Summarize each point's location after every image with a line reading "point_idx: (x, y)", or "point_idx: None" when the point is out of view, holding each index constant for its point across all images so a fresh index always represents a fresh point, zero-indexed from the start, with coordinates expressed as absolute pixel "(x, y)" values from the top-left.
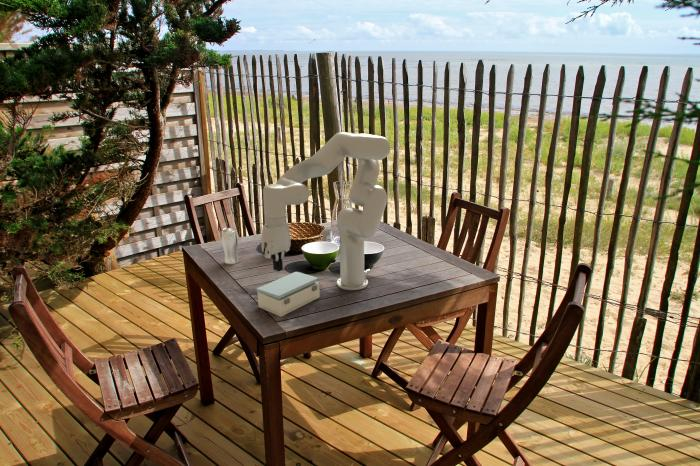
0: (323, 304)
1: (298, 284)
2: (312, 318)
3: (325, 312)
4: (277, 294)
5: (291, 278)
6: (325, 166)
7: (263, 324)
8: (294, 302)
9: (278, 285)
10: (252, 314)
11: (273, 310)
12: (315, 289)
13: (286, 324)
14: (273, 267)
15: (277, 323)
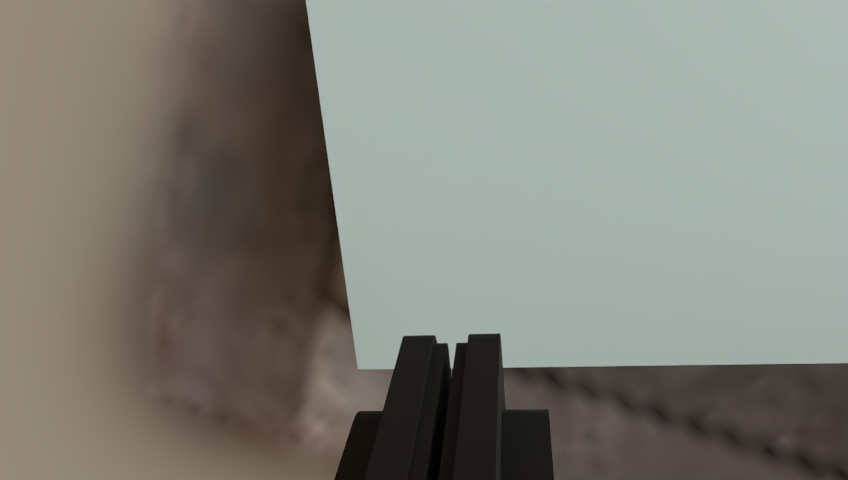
0: (821, 369)
1: (755, 309)
2: (561, 454)
3: (706, 464)
4: (372, 328)
5: None
6: None
7: (223, 262)
8: None
9: (569, 114)
10: (233, 48)
11: None
12: None
13: (358, 383)
14: (358, 415)
15: (316, 326)
